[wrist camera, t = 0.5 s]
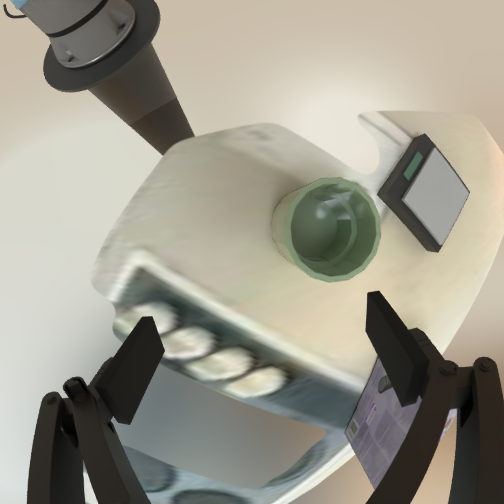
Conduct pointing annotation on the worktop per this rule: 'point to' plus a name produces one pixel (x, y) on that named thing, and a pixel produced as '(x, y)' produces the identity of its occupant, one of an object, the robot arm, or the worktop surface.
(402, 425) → the cake pan box
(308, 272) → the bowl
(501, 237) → the worktop surface
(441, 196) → the scale
